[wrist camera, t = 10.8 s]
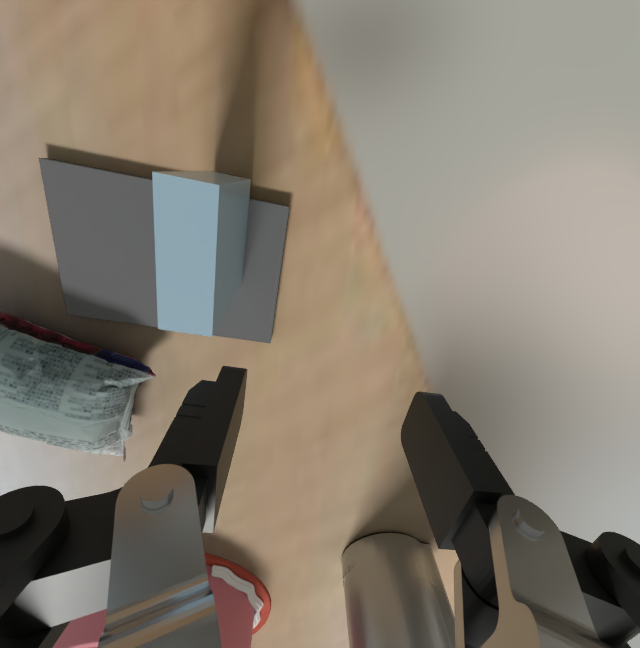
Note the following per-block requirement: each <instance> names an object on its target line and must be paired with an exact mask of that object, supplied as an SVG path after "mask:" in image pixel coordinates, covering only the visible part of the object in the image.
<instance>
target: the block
mask: <svg viewBox="0 0 640 648" xmlns="http://www.w3.org/2000/svg"><path fill="white" fill-rule="evenodd" d="M152 182H153V208H154V235H155V262H156V288H157V315H158V329H161V330H168V331H175V332H182V333H189V334H196V335H203V336H210V337H212V336H213V334H214V333H215V331H216V329H217V327H218V325H219V324H220V322H221V320H222V318H223V316H224V315H225V313H226V311H227V309H228V307H229V305H230V304H231V302H232V300H233V298H234V296H235V295H236V293H237V291H238V289H239V287H240V286H241V284H242V276H243V265H244V254H245V242H246V231H247V219H248V208H249V197H250V185H251V179H247V178H242V177H237V176H232V175H227V174H222V173H217V172H213V171H160V172H152Z"/></svg>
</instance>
